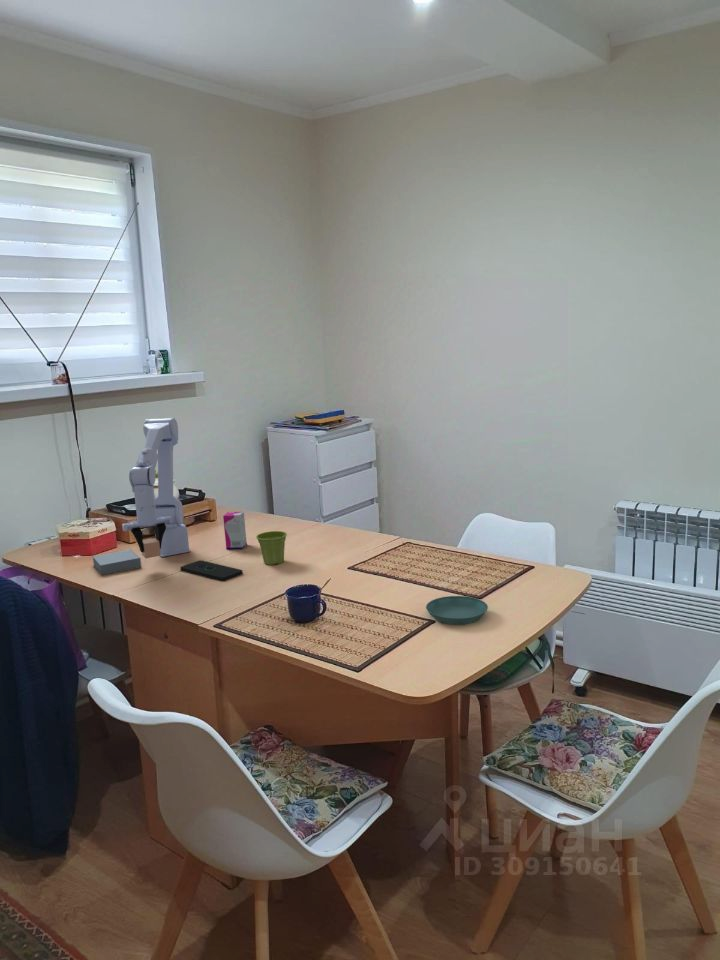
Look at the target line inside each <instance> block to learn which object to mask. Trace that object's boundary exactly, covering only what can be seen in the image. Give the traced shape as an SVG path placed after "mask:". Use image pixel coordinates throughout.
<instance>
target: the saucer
mask: <svg viewBox="0 0 720 960" xmlns="http://www.w3.org/2000/svg"><path fill="white" fill-rule="evenodd" d="M425 609H426V610H427V612H428V613H429V615H430V616H431V617H433V619H435V620H436V621H437V622H440V623H442V624H447V625H454V626H455V625H468V624H471V623H475V622H477V621H478V620H480V619H481V618H482V617H483V616H484V615H485V614H486V613H487V611H488V609H489V607H488V604H487V603H486V602H485V601H483V600H482V599H479V598H475V597H472V596H466V595H463V596H462V595H450V596H448V595H447V596H441V597H437V598H434V599H432V600H431V601H429V602H428V603H426V605H425Z"/></svg>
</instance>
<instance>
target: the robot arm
mask: <svg viewBox="0 0 720 960" xmlns="http://www.w3.org/2000/svg"><path fill="white" fill-rule="evenodd" d="M142 426H143V428H142V429H143V434H144V437H145V444H144V448H143V449H140V451H139V454H138V456H137V460H136V463H135V465H134V466H133V467H132V468H131V469H130V470H129V475H128V478H129V484H130V486H131V490H132V493H133V494H134V495H133V496H134V503H135V510H136V511H135V512H136V519H137V520H133V521H130V522H126V523H122V524H121V525H122V531H123V532H129V531H130V532H131V534H132V535H133V536H134V538H135V540H136V542H137V545H138V547H139V551H140V552H141V553H142V552H144V546H143V540H144V539H143V531H142V528H149V527H153V528H154V533H155V538H156V539H157V540H158V541H159V544H160V553H161V556H160V557H161V558H163V557H169V556H174V555H179V554H184V553H189V552H191V550H190V544H189V534H188V529H187V525H186V524H184V523H183V522H184V510H183V504H182V503H183V502H182V501H181V500H180V499H178V498H177V497H176V496H174V447H175V445H177V444H178V443H179V425H178V421H177V419H176V418H175V417H170V418H168V417H167V418H165V417H164V418H146V419H145V420H144V421H143V425H142ZM156 466H157V471H156ZM156 472H157V473H156ZM156 474H157V491H158V492H157V493H158V494H157V495H158V496H157V497H155V487H154V485H155V483H156Z"/></svg>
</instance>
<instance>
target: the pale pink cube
mask: <svg viewBox="0 0 720 960" xmlns="http://www.w3.org/2000/svg"><path fill="white" fill-rule="evenodd" d="M143 546H144V552H141V556H143V558H145V559H150V558H156V557H159V556H160V557H161V553H160V544H159V541H158V540H157V539H156V537H154V538H149V539H143Z"/></svg>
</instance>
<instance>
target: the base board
mask: <svg viewBox="0 0 720 960" xmlns="http://www.w3.org/2000/svg"><path fill="white" fill-rule="evenodd" d="M92 562H93V566H94V568H95V567H96V568H95V569H96V570H97V571H98V573H100V575H101V576H104V575H107V574H108V573H109V574H113V573H114V574H115V573H119V572H123V571H124V572H125V571H129V570H133V569H138V568H142V562H141V557H140V556H139V555H138V554H137V553H136V552H135V551H134V550H133V549H132V548H131V549H125V550H120V551H114V552H109V553H108V552H107V553H103V554H98V555H93V556H92ZM118 571H119V572H118ZM103 574H104V575H103Z"/></svg>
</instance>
